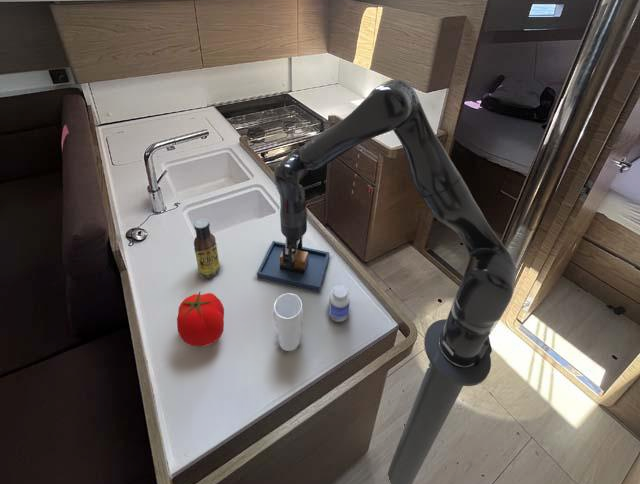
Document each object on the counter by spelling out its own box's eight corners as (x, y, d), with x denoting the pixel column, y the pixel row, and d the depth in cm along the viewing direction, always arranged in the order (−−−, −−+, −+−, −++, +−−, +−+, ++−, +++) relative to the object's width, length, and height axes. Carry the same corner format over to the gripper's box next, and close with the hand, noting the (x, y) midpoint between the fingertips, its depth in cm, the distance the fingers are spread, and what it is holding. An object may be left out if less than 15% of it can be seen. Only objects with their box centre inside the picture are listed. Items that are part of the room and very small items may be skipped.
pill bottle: (351, 318, 88) (354, 296, 83) (333, 325, 87) (335, 302, 82) (343, 301, 93) (345, 279, 88) (325, 307, 91) (327, 285, 86)
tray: (329, 257, 106) (329, 252, 105) (319, 292, 95) (319, 287, 94) (273, 245, 110) (272, 240, 109) (257, 278, 99) (256, 272, 98)
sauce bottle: (202, 282, 97) (190, 234, 87) (197, 268, 101) (185, 220, 91) (223, 273, 100) (214, 226, 90) (217, 260, 104) (208, 213, 94)
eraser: (308, 261, 104) (308, 250, 101) (304, 274, 99) (304, 263, 97) (284, 256, 105) (284, 245, 102) (279, 268, 101) (279, 257, 98)
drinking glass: (273, 333, 84) (270, 297, 77) (298, 325, 86) (297, 289, 79) (279, 359, 79) (277, 323, 71) (306, 349, 81) (306, 313, 73)
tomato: (207, 366, 77) (198, 335, 70) (170, 342, 82) (158, 310, 75) (239, 324, 86) (233, 293, 79) (204, 305, 91) (196, 274, 84)
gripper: (299, 237, 85) (299, 278, 93) (312, 204, 97) (312, 243, 105) (272, 232, 86) (275, 273, 95) (288, 200, 98) (290, 239, 107)
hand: (294, 257), depth 100 cm, fingers open, 8 cm apart
